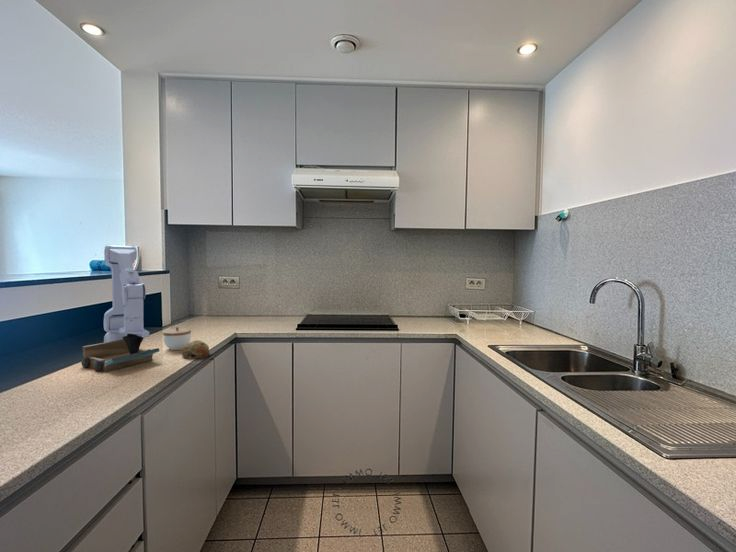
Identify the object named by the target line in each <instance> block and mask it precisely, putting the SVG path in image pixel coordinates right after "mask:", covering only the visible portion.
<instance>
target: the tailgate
mask: <svg viewBox="0 0 736 552" xmlns="http://www.w3.org/2000/svg"><path fill="white" fill-rule="evenodd" d="M147 350H148V349H147ZM158 352H159V353H160V348H159V347H158V348H153V349H151V350H148V351H143V352H139V353H134V354H130V355H125V356H121V357H116V358H113V359H111V360H110V361H108V362H106V366H107V365H111V364H115V363H120V362H124V361H128V360H132V359H136V358H141V357H145V356H149V355H153V356H154V354H156V353H158Z"/></svg>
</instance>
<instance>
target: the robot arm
mask: <svg viewBox="0 0 736 552" xmlns="http://www.w3.org/2000/svg"><path fill="white" fill-rule="evenodd" d="M103 254H104V257H103V259H104V263H105V266H106V267H109V268H110V270H111V291H112V292H111V293H112V294H111V295H112V297H111V299H112V300H111V301H112V307H111V308H109V309H108V310H106V312H105V313H104V315H103V329H104V330H103V331H105V332H106V333H105V334H104V336H103V343H105V342H110V341H116V340H121V339H124V341H125V342H126V344H127V346H128V349H129V353H130V354H134V353H138V351H139V348H141V344H142V342H143V341H144V339H145V338H149V337H150V331H149V330H146V328H144V300H145V298H146V295H147V294H146V293H147V292H146V291H147V290H146V289H147V288H146V285H145V283H143V281H141V279H140V275H139V272H138V271H137V270H135V269H134V266H133V265H134V263H135V261H136V260H137V256H138V255H137V254H138V253H137V248H136V247H135V246H134V245H109V244H107V245H105V247H104V253H103Z"/></svg>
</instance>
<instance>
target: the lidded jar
mask: <svg viewBox="0 0 736 552" xmlns="http://www.w3.org/2000/svg"><path fill="white" fill-rule="evenodd" d="M162 335H163V336H162V337H163V343H164V345H165V347H166V348H168V349H169V350H170V351H178V350H180V351H182V349H183V347H184V346H185V345H186V344H188V343H190V342H191V337H192V336H191V335H192V329H191V328H185V327H184V328H182V327H181V328H179V326H176V327H175V328H170V329H167V330H163V331H162Z"/></svg>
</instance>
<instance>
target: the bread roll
mask: <svg viewBox="0 0 736 552" xmlns="http://www.w3.org/2000/svg"><path fill="white" fill-rule="evenodd" d="M209 352H210V347H209V345H208V344H207V343H206V342H205V341H202V340H197V339H196V340H193V341H190V342H189V343H188V344H186V345H185V346H184V347H183V349H181V355H182V357H183V358H184V359H188V360H193V359H203V358H206V357H208V356H209V355H210V353H209Z"/></svg>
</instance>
